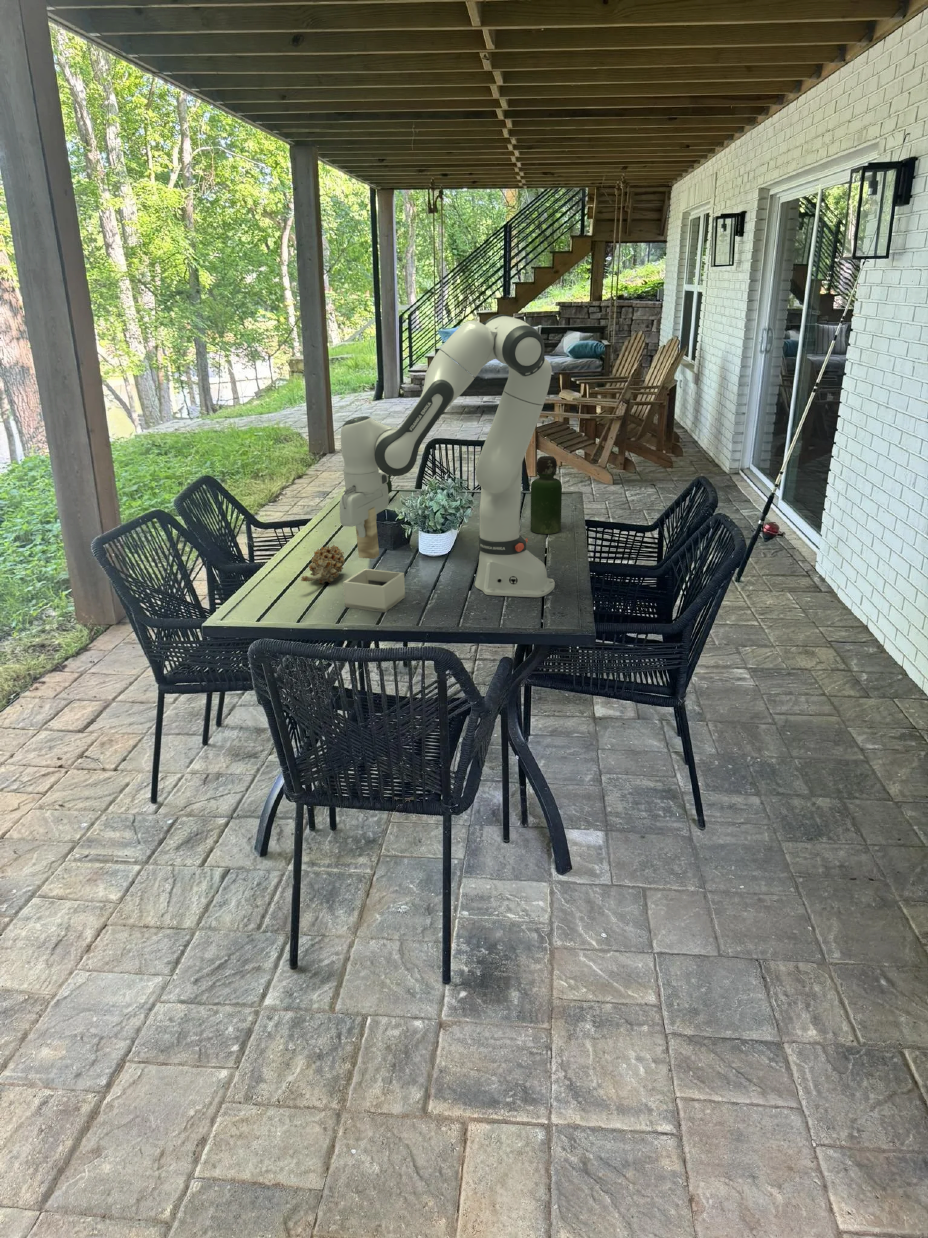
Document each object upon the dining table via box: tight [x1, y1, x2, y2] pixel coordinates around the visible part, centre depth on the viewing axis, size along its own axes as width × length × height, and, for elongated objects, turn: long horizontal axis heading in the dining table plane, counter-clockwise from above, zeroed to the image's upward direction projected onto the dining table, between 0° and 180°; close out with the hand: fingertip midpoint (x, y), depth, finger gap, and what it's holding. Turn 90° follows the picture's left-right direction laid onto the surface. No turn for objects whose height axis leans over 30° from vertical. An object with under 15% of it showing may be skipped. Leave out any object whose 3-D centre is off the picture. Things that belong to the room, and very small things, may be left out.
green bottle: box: [530, 455, 563, 535], centre depth 289 cm, size 10×10×25 cm
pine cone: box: [300, 544, 346, 585], centre depth 245 cm, size 22×10×10 cm, turn 167°
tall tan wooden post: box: [355, 507, 380, 559], centre depth 225 cm, size 4×3×13 cm, turn 68°
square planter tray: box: [342, 568, 406, 613], centre depth 231 cm, size 12×12×7 cm
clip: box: [368, 580, 387, 586], centre depth 231 cm, size 6×6×4 cm
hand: (367, 534), depth 225 cm, fingers closed on tall tan wooden post, 3 cm apart
